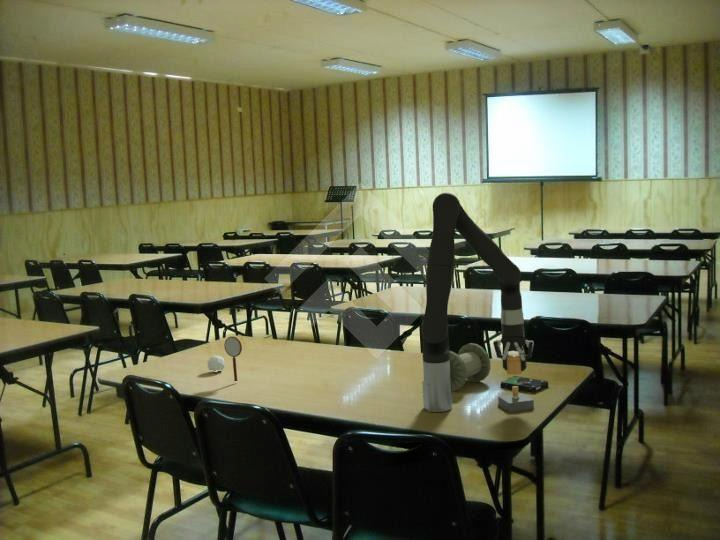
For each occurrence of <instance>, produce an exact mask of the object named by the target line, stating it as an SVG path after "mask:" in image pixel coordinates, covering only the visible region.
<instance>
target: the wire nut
mask: <svg viewBox="0 0 720 540" xmlns="http://www.w3.org/2000/svg"><path fill="white" fill-rule="evenodd" d="M521 360H522V359H521V357H520V355H519V353H512V354H511V353H508V355H507V360H506V362H507V370H506V374H508V375H512V376H517V375H522V374H523V373H524V371H522V370H521Z"/></svg>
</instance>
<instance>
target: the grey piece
mask: <svg viewBox="0 0 720 540" xmlns="http://www.w3.org/2000/svg"><path fill="white" fill-rule="evenodd" d="M511 390H512V392H511V393H512V394H507V395H498V396H497V402H498V405H499V407H501V408H503V409H504V410H506V411H507V412H509V413H510V412H511V413H512V412H518V411H519V412H520V411H526V410H533V409H535V405H534V403H535V402H534V399H533V398H530V397H529V396H528V395H526V394H524V393H523V392H522V393H520V392H519V391H518V386H513V387H512V389H511Z"/></svg>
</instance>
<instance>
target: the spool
mask: <svg viewBox="0 0 720 540" xmlns="http://www.w3.org/2000/svg"><path fill="white" fill-rule="evenodd" d="M449 358H450V378H451V392H455V391H457V390H460V389H461V388H462V387H463V386H465V384H466V381H468V382H473V383H479V382H481V381H484V380H485V379H487V377H488V376H489V374H490V372H491V360H490V357H489V353H487V351H486V350H485V349H484V347H483V346H481V345H479V344H477V343H472V342H470V343H467V344H464V345H462V346H461V347H460V349H459V350H458V353H456V352H454V351H452V350H449Z"/></svg>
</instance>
